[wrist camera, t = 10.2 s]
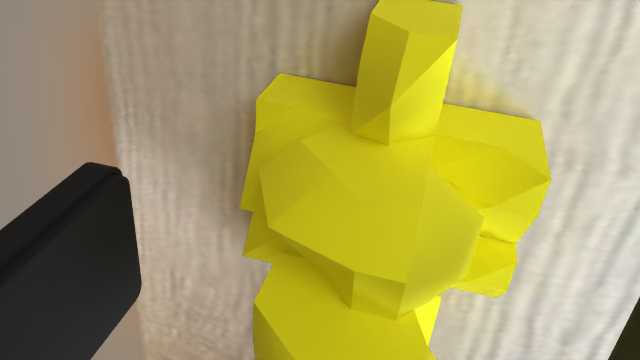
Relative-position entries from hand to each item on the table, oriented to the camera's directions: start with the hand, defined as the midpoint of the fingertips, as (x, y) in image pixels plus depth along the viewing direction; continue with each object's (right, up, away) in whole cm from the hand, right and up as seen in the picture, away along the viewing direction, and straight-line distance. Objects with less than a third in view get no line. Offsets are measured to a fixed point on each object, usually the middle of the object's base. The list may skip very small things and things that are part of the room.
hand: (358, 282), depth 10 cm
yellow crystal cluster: (+1, +2, +3) cm, 4 cm away
